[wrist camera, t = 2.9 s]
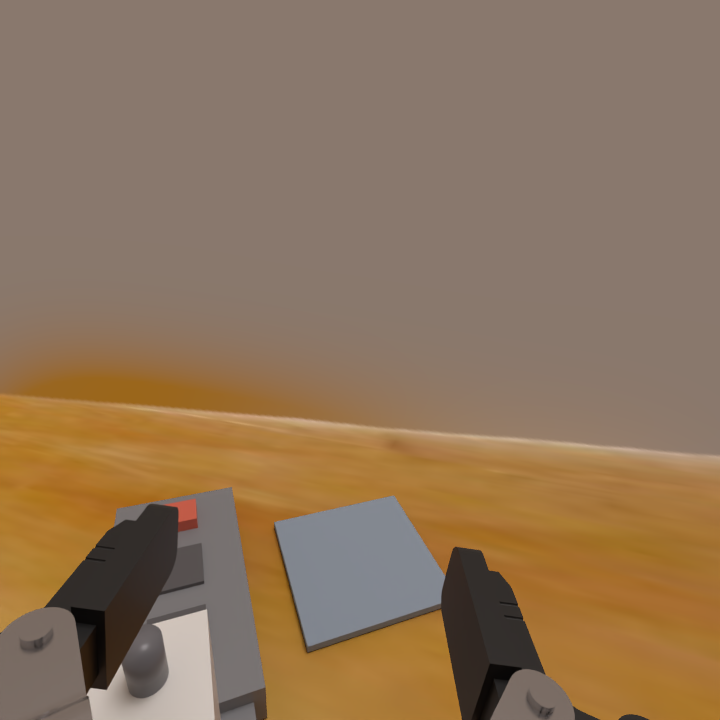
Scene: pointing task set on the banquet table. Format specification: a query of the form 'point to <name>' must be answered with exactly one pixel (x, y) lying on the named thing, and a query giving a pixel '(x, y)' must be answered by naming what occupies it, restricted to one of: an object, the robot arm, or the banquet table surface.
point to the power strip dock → (214, 596)
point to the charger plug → (163, 675)
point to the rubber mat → (357, 570)
